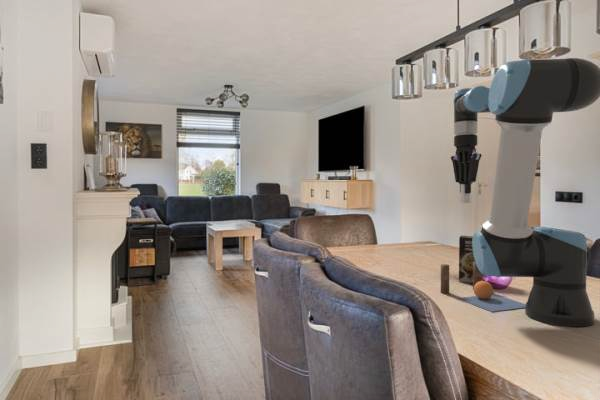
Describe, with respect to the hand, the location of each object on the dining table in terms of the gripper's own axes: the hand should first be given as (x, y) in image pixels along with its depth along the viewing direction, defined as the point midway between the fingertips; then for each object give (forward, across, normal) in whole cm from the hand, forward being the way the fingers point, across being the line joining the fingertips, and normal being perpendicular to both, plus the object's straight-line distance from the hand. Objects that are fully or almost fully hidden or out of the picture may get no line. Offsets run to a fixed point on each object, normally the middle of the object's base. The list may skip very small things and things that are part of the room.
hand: (465, 202), depth 142 cm
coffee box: (+29, +2, -5) cm, 29 cm away
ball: (+26, -18, +8) cm, 32 cm away
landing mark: (+28, -22, +8) cm, 37 cm away
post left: (+28, -8, +14) cm, 33 cm away
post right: (+28, -8, +2) cm, 30 cm away
